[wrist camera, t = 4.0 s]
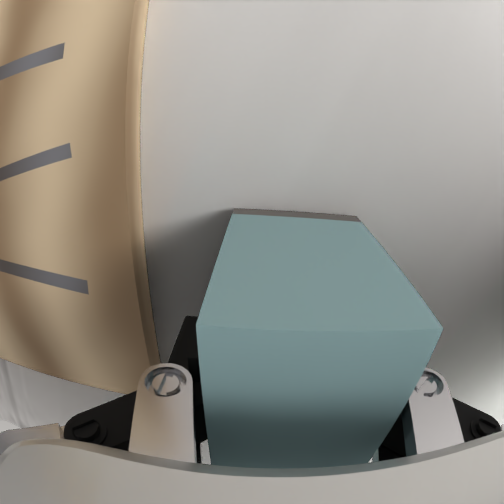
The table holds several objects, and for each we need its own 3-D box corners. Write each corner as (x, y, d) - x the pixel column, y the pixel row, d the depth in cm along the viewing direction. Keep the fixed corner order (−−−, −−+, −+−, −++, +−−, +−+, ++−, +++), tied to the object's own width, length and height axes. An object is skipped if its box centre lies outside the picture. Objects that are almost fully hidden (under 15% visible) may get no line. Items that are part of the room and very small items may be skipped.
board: (156, -46, 6) (146, -60, 5) (164, 381, 13) (158, 399, 12) (-42, 38, 7) (-57, 37, 5) (-7, 340, 13) (-17, 350, 12)
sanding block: (234, 208, 10) (195, 324, 4) (356, 216, 10) (443, 328, 4) (231, 368, 13) (216, 494, 7) (323, 371, 13) (343, 493, 7)
